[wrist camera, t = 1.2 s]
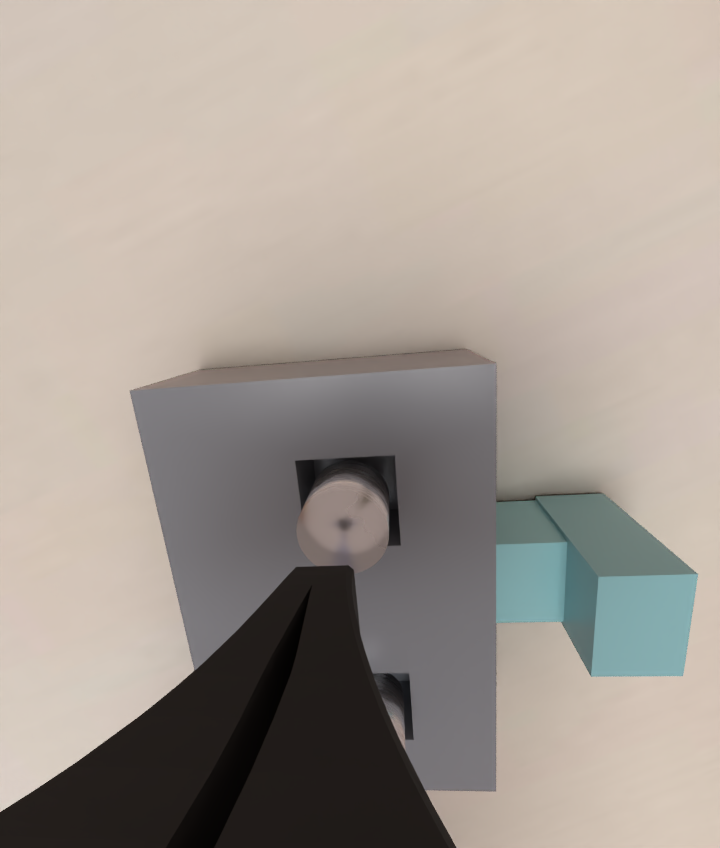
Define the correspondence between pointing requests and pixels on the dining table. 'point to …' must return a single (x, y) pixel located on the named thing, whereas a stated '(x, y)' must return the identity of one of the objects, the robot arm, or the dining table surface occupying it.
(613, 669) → the cartridge
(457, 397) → the housing
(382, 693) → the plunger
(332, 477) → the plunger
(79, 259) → the dining table surface
